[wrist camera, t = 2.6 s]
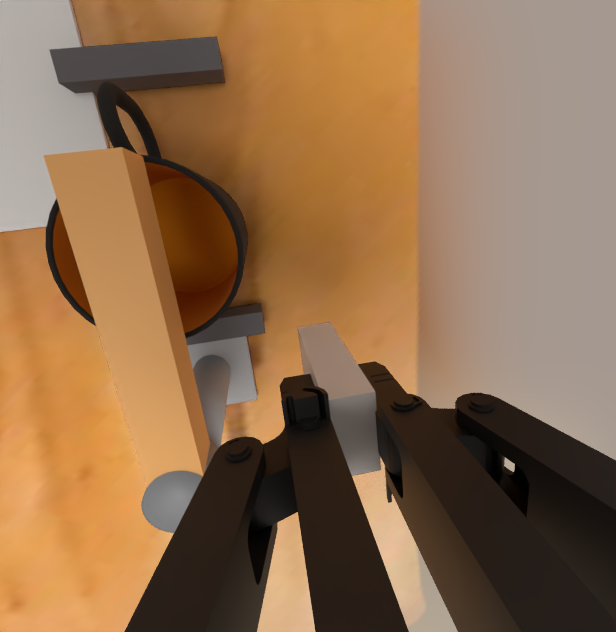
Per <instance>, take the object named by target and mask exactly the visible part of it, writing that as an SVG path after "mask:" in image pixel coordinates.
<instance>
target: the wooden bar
mask: <svg viewBox="0 0 616 632" xmlns="http://www.w3.org/2000/svg"><path fill="white" fill-rule="evenodd" d="M43 156H44V159H45V163H46V166H47V169H48V172H49V175H50V179H51V182H52V185H53V188H54V192H55V195H56V198H57V201H58V204H59V208H60V211H61V214H62V217H63V221H64V224H65V227H66V230H67V233H68V237H69V240H70V243H71V246H72V250H73V253H74V256H75V259H76V263H77V266H78V269H79V272H80V275H81V279H82V282H83V285H84V288H85V292H86V295H87V298H88V301H89V304H90V308H91V311H92V314H93V317H94V321H95V324H96V327H97V330H98V333H99V337H100V340H101V343H102V346H103V350H104V353H105V356H106V359H107V362H108V366H109V369H110V372H111V375H112V379H113V382H114V385H115V388H116V392H117V395H118V398H119V401H120V404H121V408H122V411H123V414H124V417H125V421H126V424H127V427H128V430H129V433H130V437H131V440H132V443H133V446H134V450H135V453H136V456H137V459H138V462H139V466H140V469H141V472H142V475H143V479H144V482H145V485H146V491H145V493H144V496H143V499H142V512H143V514H144V516H145V518H146V520H147V521H148V522H149V523H150V524H151V525H153V526H154V527H156V528H158V529H160V530H162V531H166V532H171V533H175V531H176V529H177V527H178V525H179V523H180V521H181V519H182V517H183V515H184V513H185V511H186V509H187V507H188V505H189V503H190V501H191V499H192V497H193V495H194V493H195V491H196V489H197V487H198V485H199V483H200V481H201V479H202V477H203V475H204V473H205V471H206V469H207V467H208V465H209V463H210V461H211V459H212V457H213V455H214V453H215V452H216V451H217V449H218V447H217V445H216V444H215V443H214V442H213V441H212V440H211V439H209V436H208V432H207V428H206V423H205V419H204V415H203V411H202V406H201V402H200V398H199V394H198V389H197V385H196V381H195V376H194V372H193V368H192V364H191V359H190V355H189V351H188V347H187V342H186V338H185V334H184V330H183V325H182V321H181V317H180V312H179V308H178V304H177V300H176V295H175V291H174V287H173V283H172V278H171V274H170V270H169V266H168V261H167V257H166V253H165V248H164V244H163V240H162V236H161V231H160V227H159V223H158V219H157V214H156V210H155V206H154V202H153V197H152V193H151V189H150V184H149V180H148V176H147V172H146V167H145V163H144V159H143V156H141V155H138V154H136V153H134V152H132V151H129V150H127V149H125V148H122V147H118V148H109V149H99V150H90V151H80V152H70V153H61V154H51V155H43Z"/></svg>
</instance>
